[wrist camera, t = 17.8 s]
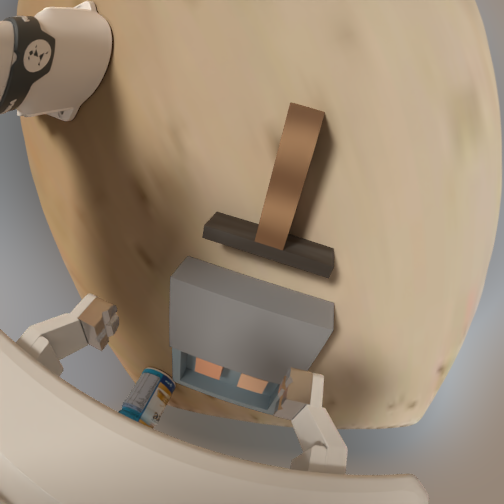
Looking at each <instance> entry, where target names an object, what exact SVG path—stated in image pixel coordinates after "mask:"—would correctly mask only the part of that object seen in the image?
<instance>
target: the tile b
mask: <svg viewBox="0 0 504 504" xmlns="http://www.w3.org/2000/svg"><path fill="white" fill-rule="evenodd" d="M267 383H268V381H265V380H262V379H258V378H255V377H252V376H249V375H246V374H243V373H241V375H240V378H239V381H238V384H237V387H240V388H243V389H246V390H250V391H253V392H256V393H260V394H262V392H263V391H264V389H265V387H266V385H267Z"/></svg>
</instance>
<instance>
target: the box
mask: <svg viewBox="0 0 504 504" xmlns="http://www.w3.org/2000/svg"><path fill="white" fill-rule="evenodd" d="M195 364H196V357H195V356H192V355H189V354H187V353H184V352H182V351H179V350H177V349H175V348H172V369H173V381H174V382H176V383H179V384H181V385H184V386H186V387H189V388H191V389H194V390H196V391H199V392H202V393H204V394H207V395H210V396H212V397H215V398H218V399H221V400H224V401H227V402H230V403H233V404H236V405H239V406H243V407H246V408H249V409H252V410H256V411H259V412H263V413H267V414H270V415H273V414H274V410H275V405H276V402H277V401H278V400H279V397H278V390H279V387H280V385H279V384H276V383H272V382H269V381H268V383H267V385H266V387H265V389H264V391H263V392H262V394H260V393H256V392H253V391H250V390H246V389H243V388H240V387H237V384H238V381H239V378H240V375H241V373H239V372H236V371H233V370H230V369H228V368H225V367H224V369H223V372H222V374H221V377H220V379H219V380H217V379H214V378H212V377H209V376H206V375H203V374H201V373H198V372H196V371H195Z"/></svg>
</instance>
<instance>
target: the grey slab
mask: <svg viewBox="0 0 504 504" xmlns="http://www.w3.org/2000/svg"><path fill="white" fill-rule="evenodd" d="M333 325H334V303H333V302H329V301H326V300H323V299H319V298H316V297H313V296H310V295H307V294H303V293H300V292H297V291H294V290H290V289H287V288H284V287H281V286H278V285H275V284H272V283H268V282H265V281H262V280H259V279H256V278H253V277H250V276H247V275H244V274H241V273H238V272H235V271H232V270H229V269H225V268H222V267H219V266H216V265H213V264H211V263H208V262H205V261H202V260H199V259H196V258H193V257H190V256H187V257H186V258H185V260H184V261H183V262H182V263H181V265H180V266H179V267H178V268H177V269H176V271H175V272H174V273H173V274H172V276H171V277H170V313H169V342H170V347H172V348H175V349H177V350H179V351H182V352H184V353H187V354H189V355H192V356H195V357H197V358H200V359H202V360H205V361H208V362H211V363H213V364H216V365H219V366H222V367H225V368H228V369H230V370H233V371H236V372H239V373H243V374H246V375H249V376H252V377H255V378H258V379H262V380H265V381H269V382H272V383H276V384H279V385H280V384H281V381H282V379H283V377H284V376H286V375H287V371H288V369H289V368H290V367H292V368H297V369H301V370H305V371H307V370H308V369H309V368H310V366H311V365H312V363H313V362H314V360H315V358H316V357H317V355H318V354H319V352H320V351H321V349H322V348H323V346H324V345H325V343H326V341H327V340H328V338H329V337H330V335H331V333H332V332H333Z"/></svg>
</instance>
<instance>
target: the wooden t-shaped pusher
mask: <svg viewBox="0 0 504 504" xmlns="http://www.w3.org/2000/svg"><path fill="white" fill-rule="evenodd" d="M324 114H325V112H323V111H319V110H316V109H313V108H309V107H306V106H302V105H299V104H295V103H290V106H289V110H288V114H287V118H286V122H285V125H284V129H283V133H282V137H281V141H280V145H279V149H278V152H277V156H276V160H275V164H274V168H273V172H272V176H271V179H270V183H269V187H268V191H267V195H266V199H265V203H264V206H263V210H262V214H261V218H260V222H259V224H256V223H252V222H249V221H246V220H243V219H239V218H236V217H233V216H229V215H226V214H223V213H219V212H216V213H215V214H214V216H213V217H212V218H211V219H210V220H209V221H208V222H207V223H206V224H205V225H204V230H203V237H202V238H205V239H208V240H211V241H214V242H217V243H220V244H224V245H227V246H230V247H233V248H236V249H239V250H242V251H245V252H248V253H251V254H255V255H258V256H261V257H264V258H267V259H270V260H273V261H276V262H279V263H283V264H286V265H289V266H292V267H295V268H298V269H301V270H304V271H307V272H311V273H314V274H317V275H320V276H323V277H326V278H329V277H330V274H331V272H332V270H333V268H334V251H333V248H330V247H327V246H324V245H321V244H318V243H315V242H312V241H309V240H306V239H303V238H300V237H297V236H294V235H291V234H288V233H289V230H290V227H291V224H292V220H293V217H294V214H295V211H296V208H297V205H298V201H299V198H300V195H301V192H302V189H303V185H304V182H305V179H306V175H307V172H308V169H309V165H310V162H311V159H312V155H313V152H314V149H315V145H316V142H317V138H318V135H319V131H320V128H321V124H322V121H323V117H324Z"/></svg>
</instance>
